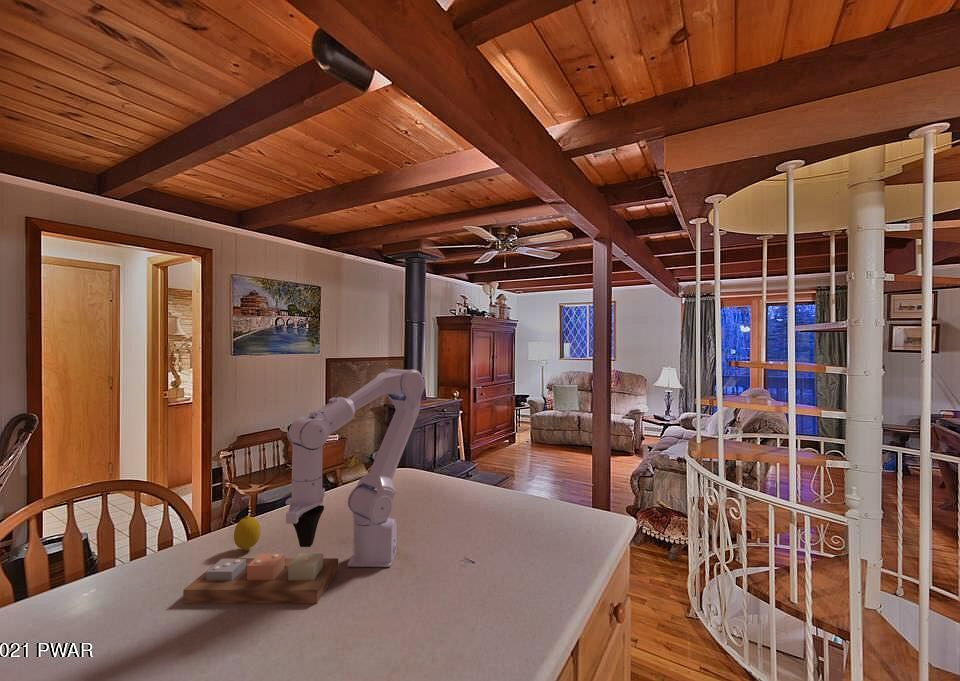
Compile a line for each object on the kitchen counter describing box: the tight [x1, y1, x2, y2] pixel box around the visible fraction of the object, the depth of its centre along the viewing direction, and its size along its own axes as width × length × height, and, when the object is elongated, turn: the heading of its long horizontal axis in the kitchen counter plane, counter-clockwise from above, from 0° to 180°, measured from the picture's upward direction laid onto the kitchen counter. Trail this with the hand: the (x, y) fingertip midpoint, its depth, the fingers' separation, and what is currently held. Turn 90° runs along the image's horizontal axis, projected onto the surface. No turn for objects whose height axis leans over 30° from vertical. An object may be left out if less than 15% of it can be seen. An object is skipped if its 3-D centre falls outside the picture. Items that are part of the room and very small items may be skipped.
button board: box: [182, 557, 339, 604], centre depth 85 cm, size 25×12×2 cm, turn 90°
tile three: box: [205, 558, 246, 580], centre depth 85 cm, size 5×5×4 cm
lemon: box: [233, 515, 261, 551], centre depth 100 cm, size 6×6×8 cm
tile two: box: [247, 552, 286, 581], centre depth 86 cm, size 5×5×4 cm
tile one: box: [288, 552, 324, 581], centre depth 86 cm, size 5×5×4 cm
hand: (306, 545), depth 86 cm, fingers closed
